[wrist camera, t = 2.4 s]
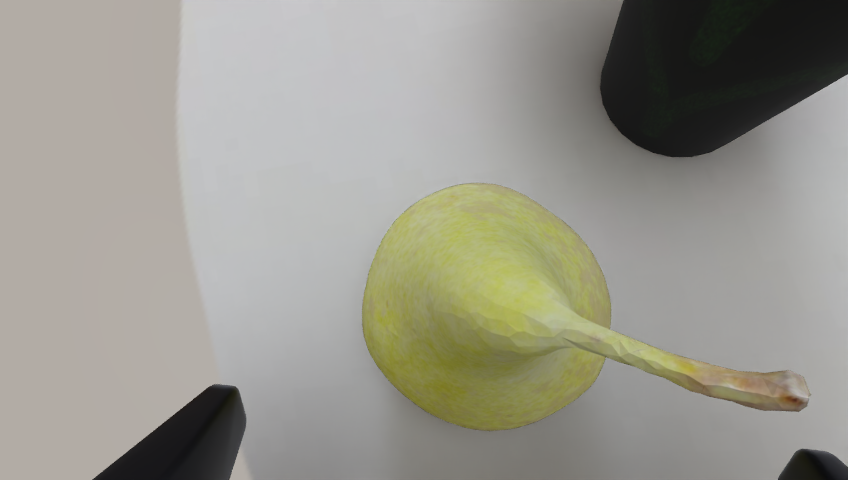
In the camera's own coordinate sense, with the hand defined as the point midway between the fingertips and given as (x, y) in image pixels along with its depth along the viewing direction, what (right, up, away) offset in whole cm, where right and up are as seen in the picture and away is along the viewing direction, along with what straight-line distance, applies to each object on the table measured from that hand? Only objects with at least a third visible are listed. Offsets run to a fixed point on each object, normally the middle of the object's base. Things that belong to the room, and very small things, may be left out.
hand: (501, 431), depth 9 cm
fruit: (+1, 0, +10) cm, 10 cm away
